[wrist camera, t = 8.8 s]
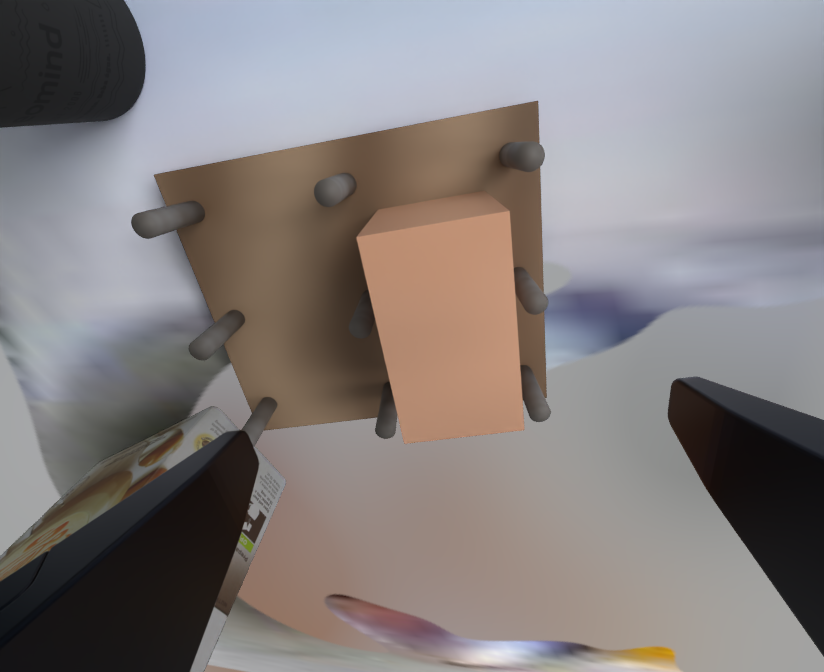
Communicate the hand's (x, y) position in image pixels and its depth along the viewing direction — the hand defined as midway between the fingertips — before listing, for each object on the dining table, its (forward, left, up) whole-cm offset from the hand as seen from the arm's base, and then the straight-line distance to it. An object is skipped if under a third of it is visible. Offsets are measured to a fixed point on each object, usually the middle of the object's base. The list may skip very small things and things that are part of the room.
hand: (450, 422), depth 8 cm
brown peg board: (+3, 0, -10) cm, 10 cm away
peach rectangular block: (0, 0, -9) cm, 9 cm away
